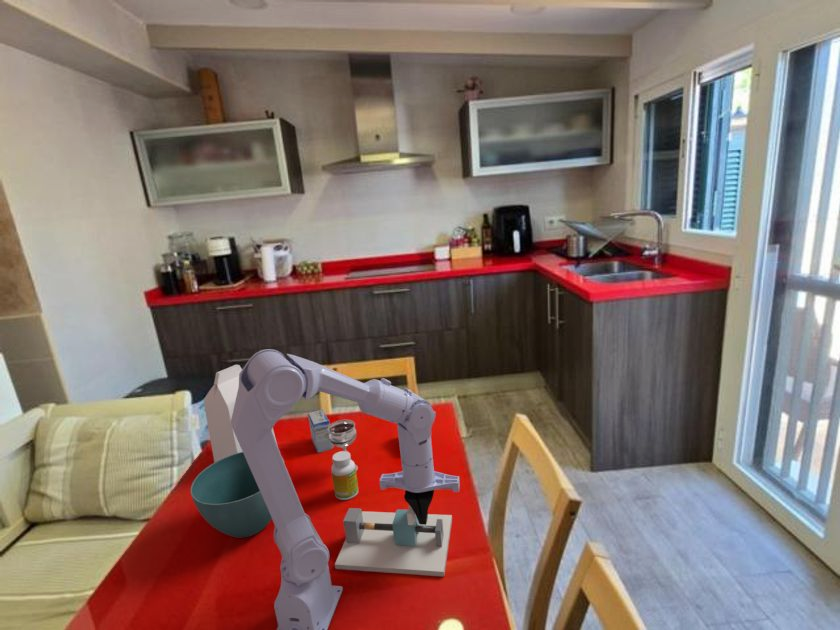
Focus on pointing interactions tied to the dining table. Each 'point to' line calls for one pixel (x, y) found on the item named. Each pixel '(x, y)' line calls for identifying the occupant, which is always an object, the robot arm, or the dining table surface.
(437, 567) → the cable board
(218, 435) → the milk
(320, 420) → the medicine box
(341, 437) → the wineglass
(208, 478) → the teal bowl
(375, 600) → the dining table surface
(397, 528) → the slider block
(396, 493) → the dining table surface
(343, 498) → the supplement bottle
